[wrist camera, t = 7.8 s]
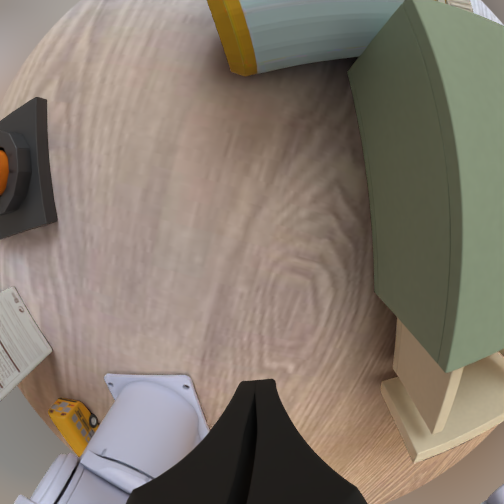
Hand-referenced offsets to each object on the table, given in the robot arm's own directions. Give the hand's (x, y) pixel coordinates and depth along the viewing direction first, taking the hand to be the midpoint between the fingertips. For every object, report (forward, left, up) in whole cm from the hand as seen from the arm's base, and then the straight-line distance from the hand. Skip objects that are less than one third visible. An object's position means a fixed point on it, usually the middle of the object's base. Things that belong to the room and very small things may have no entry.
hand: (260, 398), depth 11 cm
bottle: (+17, 0, -5) cm, 18 cm away
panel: (+14, +18, -8) cm, 24 cm away
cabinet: (+8, -14, -8) cm, 18 cm away
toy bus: (-12, +20, -9) cm, 25 cm away
